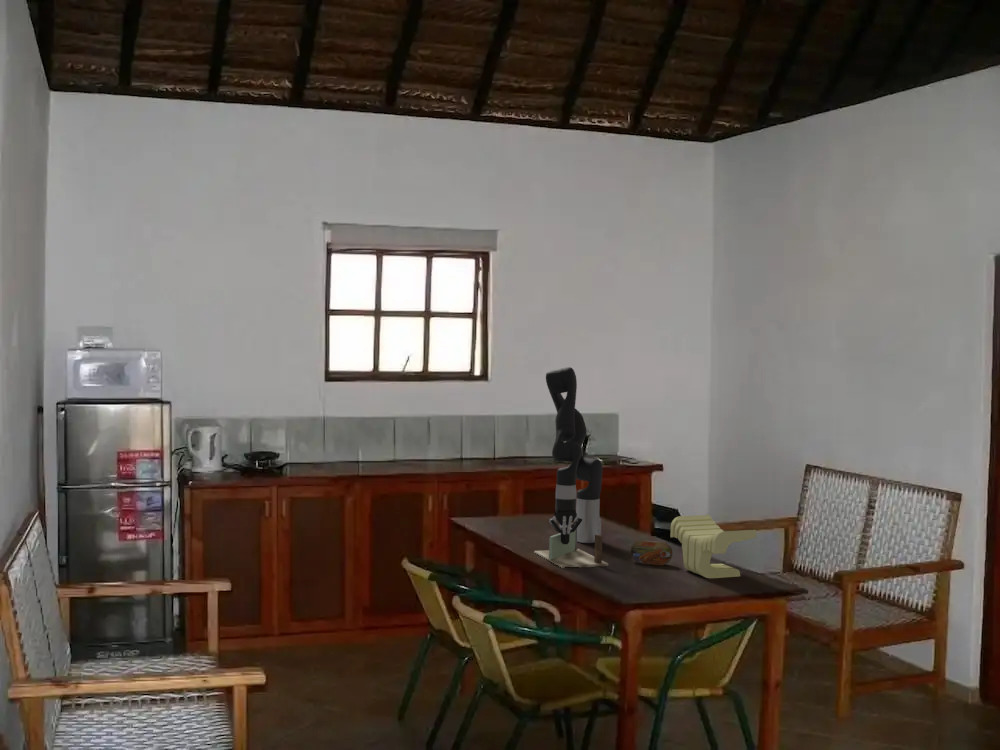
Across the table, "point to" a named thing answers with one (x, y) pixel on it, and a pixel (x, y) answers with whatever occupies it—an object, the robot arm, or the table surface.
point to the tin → (651, 552)
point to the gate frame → (578, 556)
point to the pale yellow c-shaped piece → (706, 544)
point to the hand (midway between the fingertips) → (564, 543)
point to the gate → (562, 545)
